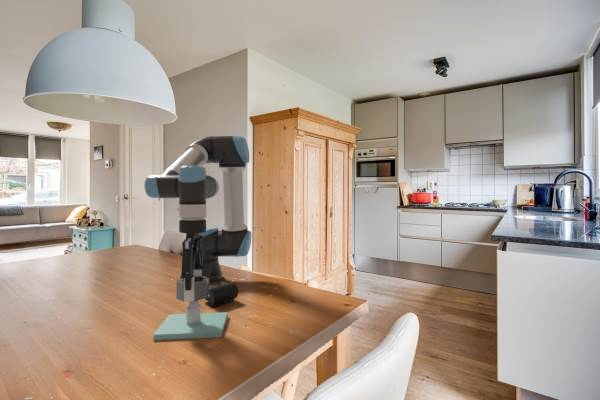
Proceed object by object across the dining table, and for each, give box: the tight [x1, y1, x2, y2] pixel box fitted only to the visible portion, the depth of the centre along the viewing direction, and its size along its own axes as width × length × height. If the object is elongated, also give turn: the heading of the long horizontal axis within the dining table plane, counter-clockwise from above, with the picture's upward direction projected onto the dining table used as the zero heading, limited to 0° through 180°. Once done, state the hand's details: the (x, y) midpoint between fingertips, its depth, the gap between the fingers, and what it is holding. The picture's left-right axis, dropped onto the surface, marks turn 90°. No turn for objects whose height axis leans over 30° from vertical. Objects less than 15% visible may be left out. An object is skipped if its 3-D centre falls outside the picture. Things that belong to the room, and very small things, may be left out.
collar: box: [176, 276, 210, 302], centre depth 92 cm, size 8×8×5 cm
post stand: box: [152, 301, 229, 341], centre depth 92 cm, size 14×18×8 cm
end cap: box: [204, 281, 239, 308], centre depth 112 cm, size 10×7×7 cm
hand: (193, 295), depth 92 cm, fingers closed on collar, 8 cm apart
